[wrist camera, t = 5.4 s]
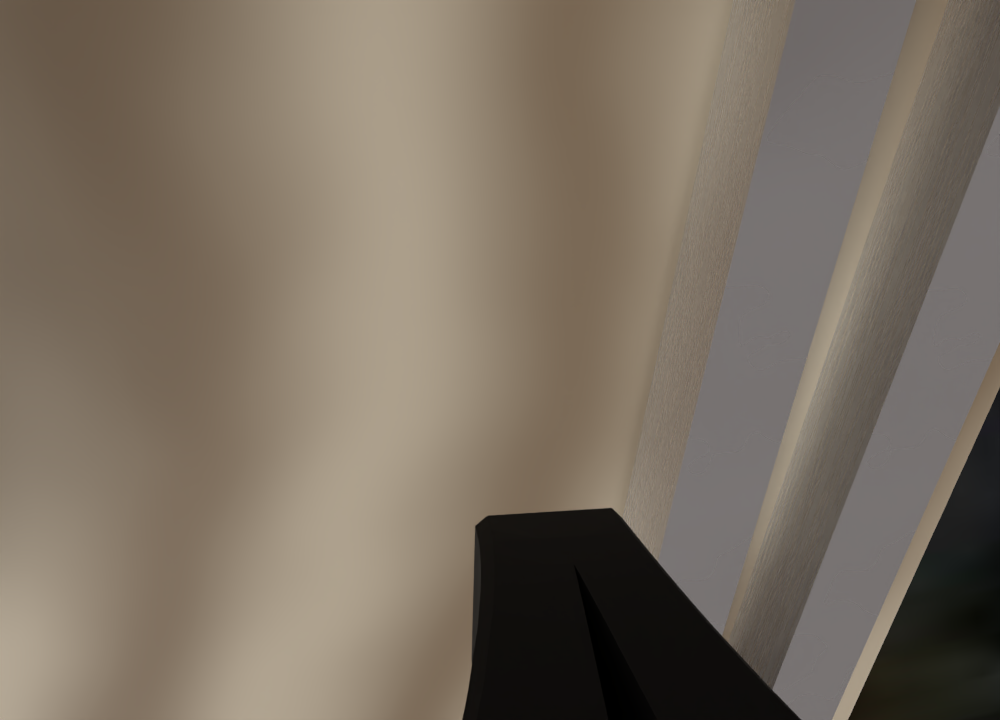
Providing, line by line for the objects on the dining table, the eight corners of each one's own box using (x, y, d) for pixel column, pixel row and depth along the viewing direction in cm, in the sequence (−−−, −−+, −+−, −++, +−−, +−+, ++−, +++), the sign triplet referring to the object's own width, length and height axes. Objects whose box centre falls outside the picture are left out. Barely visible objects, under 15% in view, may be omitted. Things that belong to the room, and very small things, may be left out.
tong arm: (557, 821, 23) (574, 907, 21) (795, -288, 12) (874, -304, 10) (686, 813, 24) (713, 897, 22) (1028, -254, 12) (1142, -264, 11)
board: (55, 895, 24) (42, 943, 23) (-214, -605, 10) (-277, -652, 9) (752, 854, 27) (767, 895, 26) (1249, -309, 14) (1321, -318, 13)
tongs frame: (513, 910, 25) (527, 1009, 23) (792, -292, 12) (883, -312, 10) (711, 897, 26) (742, 990, 24) (1167, -225, 13) (1319, -229, 11)
